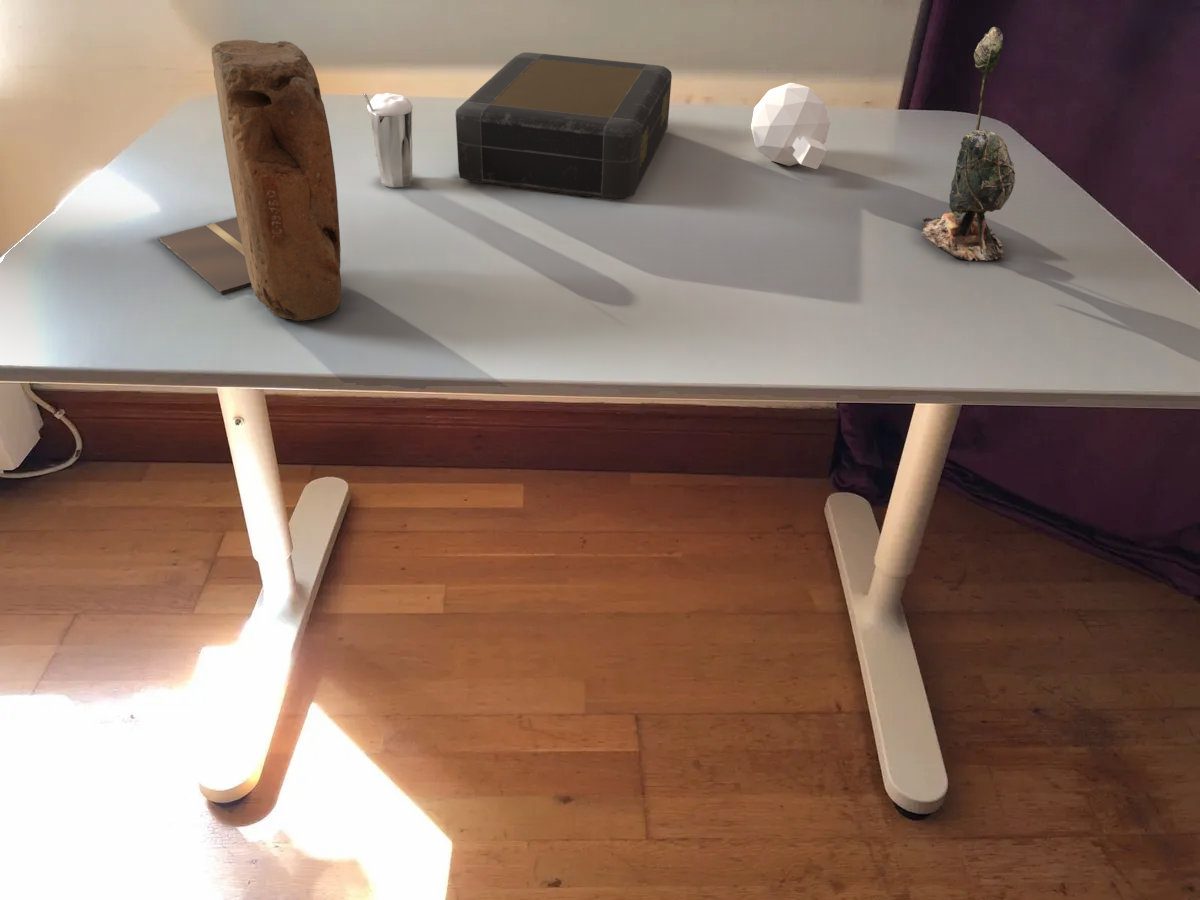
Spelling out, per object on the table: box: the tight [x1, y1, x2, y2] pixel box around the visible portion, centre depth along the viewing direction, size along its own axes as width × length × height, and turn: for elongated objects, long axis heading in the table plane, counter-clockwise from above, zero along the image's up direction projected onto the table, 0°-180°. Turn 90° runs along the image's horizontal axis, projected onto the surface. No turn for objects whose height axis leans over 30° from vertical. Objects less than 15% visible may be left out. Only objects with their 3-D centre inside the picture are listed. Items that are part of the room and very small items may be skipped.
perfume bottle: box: [750, 82, 831, 170], centre depth 109 cm, size 9×9×12 cm
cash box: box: [455, 52, 673, 200], centre depth 109 cm, size 25×20×8 cm
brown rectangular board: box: [157, 216, 252, 295], centre depth 88 cm, size 14×10×1 cm
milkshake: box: [362, 92, 414, 189], centre depth 99 cm, size 4×5×10 cm
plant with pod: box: [921, 26, 1016, 262], centre depth 89 cm, size 8×11×20 cm
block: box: [211, 39, 342, 322], centre depth 75 cm, size 11×8×20 cm
